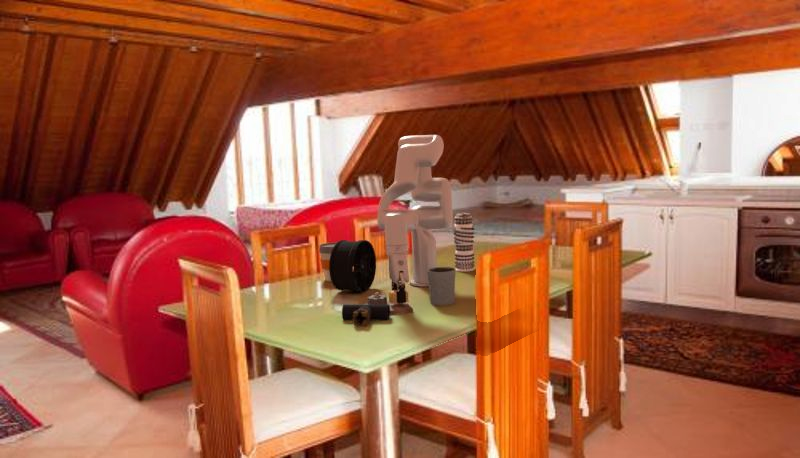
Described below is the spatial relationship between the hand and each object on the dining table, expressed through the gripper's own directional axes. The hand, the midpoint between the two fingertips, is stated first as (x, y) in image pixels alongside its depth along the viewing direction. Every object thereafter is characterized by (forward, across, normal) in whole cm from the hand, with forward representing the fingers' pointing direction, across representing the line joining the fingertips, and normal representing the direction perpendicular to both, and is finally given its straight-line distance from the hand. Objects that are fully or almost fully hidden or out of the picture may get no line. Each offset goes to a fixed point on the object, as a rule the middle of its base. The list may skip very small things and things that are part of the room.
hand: (399, 299), depth 221 cm
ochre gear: (+1, 0, 0) cm, 1 cm away
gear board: (+3, 0, +4) cm, 5 cm away
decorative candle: (+3, +54, -43) cm, 69 cm away
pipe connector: (+4, -12, +15) cm, 19 cm away
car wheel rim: (+3, +34, +10) cm, 35 cm away
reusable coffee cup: (+3, +59, +14) cm, 61 cm away
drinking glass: (+3, +2, -16) cm, 17 cm away
